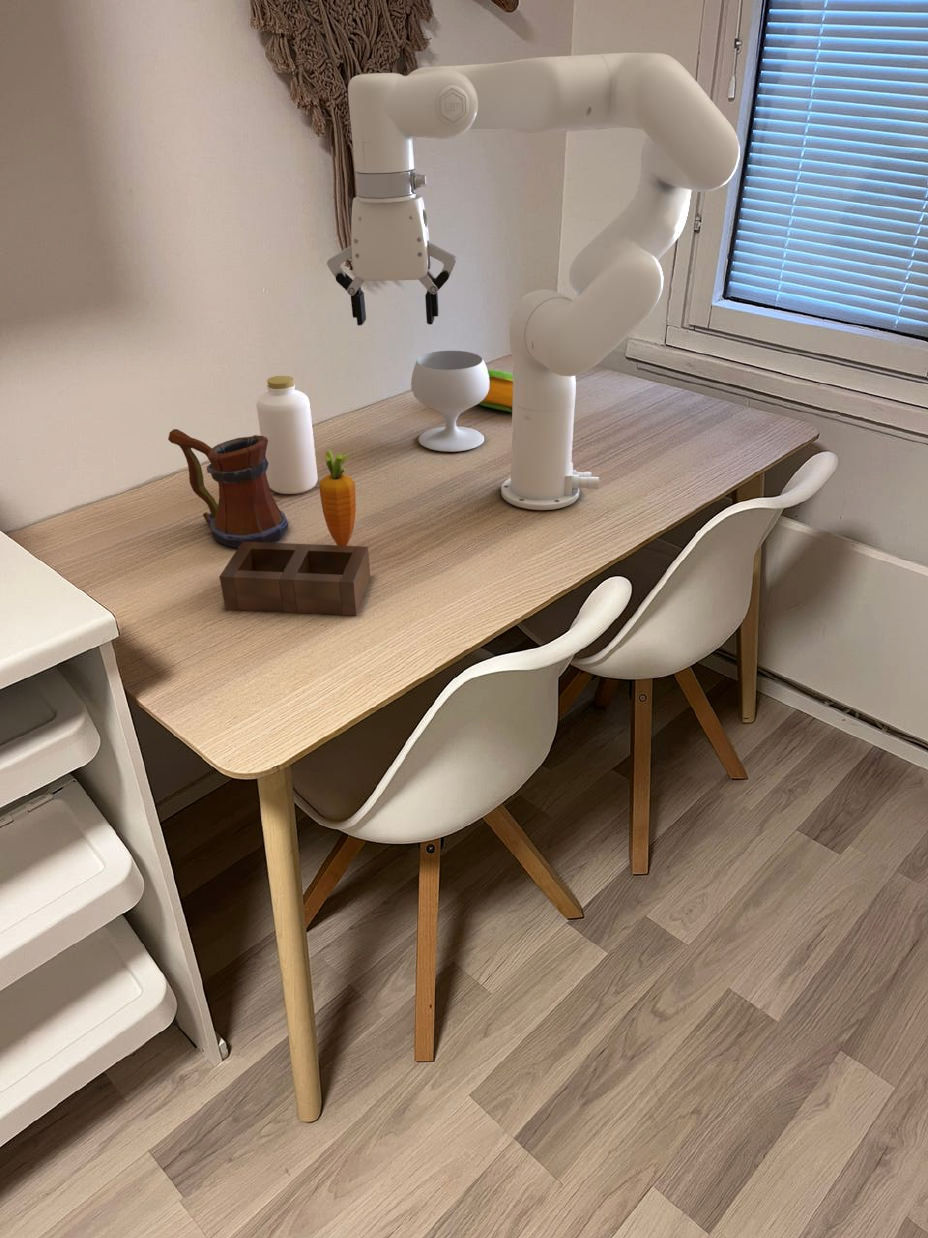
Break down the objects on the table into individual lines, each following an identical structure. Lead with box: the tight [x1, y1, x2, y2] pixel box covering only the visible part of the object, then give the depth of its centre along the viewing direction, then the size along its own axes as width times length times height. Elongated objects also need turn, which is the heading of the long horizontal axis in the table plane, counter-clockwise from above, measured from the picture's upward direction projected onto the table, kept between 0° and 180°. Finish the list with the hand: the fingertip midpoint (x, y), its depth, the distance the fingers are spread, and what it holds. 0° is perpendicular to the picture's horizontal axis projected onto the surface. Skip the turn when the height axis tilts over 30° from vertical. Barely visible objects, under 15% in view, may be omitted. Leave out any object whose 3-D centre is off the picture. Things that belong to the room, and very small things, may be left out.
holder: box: [219, 542, 371, 617], centre depth 119 cm, size 17×10×5 cm, turn 84°
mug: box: [167, 428, 289, 549], centre depth 133 cm, size 18×12×15 cm, turn 63°
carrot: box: [318, 450, 357, 546], centre depth 127 cm, size 5×5×15 cm
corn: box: [477, 368, 513, 413], centre depth 178 cm, size 7×8×20 cm
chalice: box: [410, 350, 490, 452], centre depth 162 cm, size 14×14×15 cm
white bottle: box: [256, 375, 319, 495], centre depth 145 cm, size 8×8×18 cm
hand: (396, 322), depth 124 cm, fingers open, 9 cm apart
